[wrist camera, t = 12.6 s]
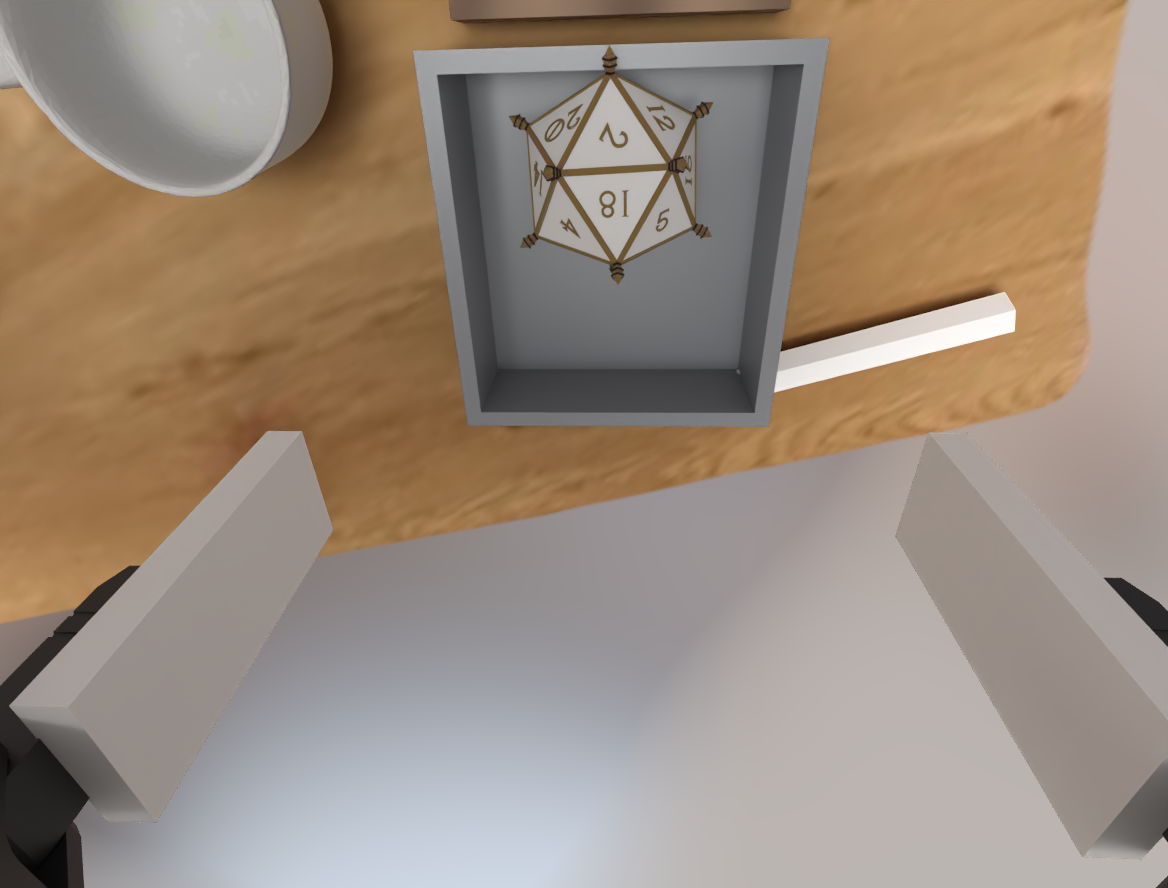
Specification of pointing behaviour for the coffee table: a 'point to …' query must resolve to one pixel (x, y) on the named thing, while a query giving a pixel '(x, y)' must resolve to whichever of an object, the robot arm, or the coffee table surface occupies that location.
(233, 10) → the teacup
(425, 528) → the coffee table surface
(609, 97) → the game die
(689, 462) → the coffee table surface
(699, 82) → the bin
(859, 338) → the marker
